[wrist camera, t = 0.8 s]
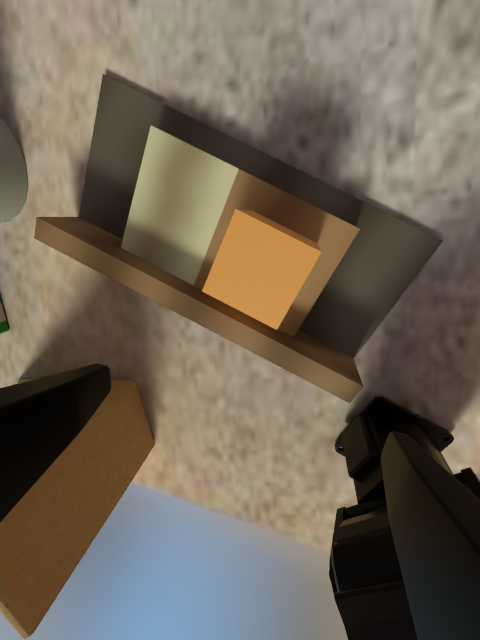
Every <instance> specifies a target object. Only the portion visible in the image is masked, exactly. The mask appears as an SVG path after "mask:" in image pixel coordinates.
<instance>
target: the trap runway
mask: <svg viewBox="0 0 480 640" xmlns="http://www.w3.org/2000/svg"><path fill="white" fill-rule="evenodd" d="M235 209H242V210H251V211H254V212H256V213H258V214H260V215H262V216H264V217H266V218H268V219H270V220H272V221H274V222H276V223H278V224H280V225H282V226H284V227H286V228H288V229H290V230H292V231H294V232H296V233H298V234H300V235H302V236H304V237H306V238H308V239H310V240H312V241H314V242H316V243H318V245H319V247H320V249H321V251H322V252H321V254H320V256H319V258H318V259H317V261H316V263H315V265H314V266H313V268H312V270H311V272H310V273H309V275H308V277H307V279H306V280H305V282H304V284H303V285H302V287H301V289H300V291H299V292H298V294H297V296H296V298H295V299H294V301H293V303H292V305H291V306H290V308H289V310H288V312H287V313H286V315H285V317H284V318H283V320H282V322H281V324H280V325H279V327H278V329H277V330H276V329H274V328H272V327H270V326H268V325H266V324H264V323H262V322H260V321H258V320H256V319H254V318H253V317H251V316H249V315H247V314H245V313H243V312H241V311H239V310H237V309H235V308H233V307H231V306H229V305H227V304H225V303H224V302H222V301H220V300H218V299H216V298H214V297H212V296H210V295H208V294H206V293H204V292H202V290H203V288H204V285H205V283H206V280H207V278H208V275H209V273H210V270H211V268H212V265H213V263H214V260H215V258H216V256H217V253H218V251H219V248H220V246H221V243H222V241H223V238H224V236H225V233H226V231H227V228H228V226H229V223H230V221H231V219H232V216H233V214H234V211H235ZM35 239H37V240H39V241H40V242H42V243H44V244H46V245H48V246H50V247H52V248H54V249H56V250H58V251H60V252H62V253H63V254H65V255H67V256H69V257H71V258H73V259H75V260H77V261H79V262H81V263H83V264H85V265H86V266H88V267H90V268H92V269H94V270H96V271H98V272H100V273H102V274H104V275H106V276H107V277H109V278H111V279H113V280H115V281H117V282H119V283H121V284H123V285H125V286H127V287H129V288H130V289H132V290H134V291H136V292H138V293H140V294H142V295H144V296H146V297H148V298H150V299H152V300H153V301H155V302H157V303H159V304H161V305H163V306H165V307H167V308H169V309H171V310H173V311H174V312H176V313H178V314H180V315H182V316H184V317H186V318H188V319H190V320H192V321H194V322H196V323H197V324H199V325H201V326H203V327H205V328H207V329H209V330H211V331H213V332H215V333H217V334H218V335H220V336H222V337H224V338H226V339H228V340H230V341H232V342H234V343H236V344H238V345H240V346H241V347H243V348H245V349H247V350H249V351H251V352H253V353H255V354H257V355H259V356H261V357H263V358H264V359H266V360H268V361H270V362H272V363H274V364H276V365H278V366H280V367H282V368H284V369H285V370H287V371H289V372H291V373H293V374H295V375H297V376H299V377H301V378H303V379H305V380H307V381H308V382H310V383H312V384H314V385H316V386H318V387H320V388H322V389H324V390H326V391H328V392H330V393H331V394H333V395H335V396H337V397H339V398H341V399H343V400H345V401H347V402H349V403H350V402H351V401H352V400H353V398H354V397H355V396H356V395H357V393H358V392H359V391H360V390H361V389H362V387H363V385H362V382H361V379H360V376H359V373H358V370H357V367H356V364H355V361H354V357H355V356H356V355H357V354H358V352H359V351H360V350H361V348H362V347H363V346H364V344H365V343H366V342H367V340H368V339H369V338H370V336H371V335H372V334H373V332H374V331H375V330H376V329H377V327H378V326H379V325H380V323H381V322H382V321H383V319H384V318H385V317H386V315H387V314H388V313H389V311H390V310H391V309H392V307H393V306H394V305H395V304H396V302H397V301H398V300H399V298H400V297H401V296H402V294H403V293H404V292H405V290H406V289H407V288H408V286H409V285H410V284H411V283H412V281H413V280H414V279H415V277H416V276H417V275H418V273H419V272H420V271H421V269H422V268H423V267H424V265H425V264H426V263H427V261H428V260H429V259H430V258H431V256H432V255H433V254H434V252H435V251H436V250H437V248H438V247H439V246H440V244H441V243H442V242H443V241H442V240H440V239H438V238H436V237H434V236H432V235H430V234H428V233H426V232H424V231H422V230H420V229H418V228H416V227H414V226H412V225H410V224H408V223H406V222H404V221H402V220H400V219H398V218H396V217H394V216H391V215H389V214H387V213H385V212H383V211H381V210H379V209H377V208H375V207H373V206H371V205H369V204H367V203H365V202H363V201H361V200H359V199H357V198H355V197H353V196H351V195H349V194H347V193H345V192H343V191H341V190H338V189H336V188H334V187H332V186H330V185H328V184H326V183H324V182H322V181H320V180H318V179H316V178H314V177H312V176H310V175H308V174H306V173H304V172H302V171H300V170H298V169H296V168H294V167H292V166H290V165H287V164H285V163H283V162H281V161H279V160H277V159H275V158H273V157H271V156H269V155H267V154H265V153H263V152H261V151H259V150H257V149H255V148H253V147H251V146H249V145H247V144H245V143H243V142H241V141H239V140H237V139H234V138H232V137H230V136H228V135H226V134H224V133H222V132H220V131H218V130H216V129H214V128H212V127H210V126H208V125H206V124H204V123H202V122H200V121H198V120H196V119H194V118H192V117H190V116H188V115H186V114H183V113H181V112H179V111H177V110H175V109H173V108H171V107H169V106H167V105H165V104H163V103H161V102H159V101H157V100H155V99H153V98H151V97H149V96H147V95H145V94H143V93H141V92H139V91H137V90H135V89H132V88H130V87H128V86H126V85H124V84H122V83H120V82H118V81H116V80H114V79H112V78H110V77H108V76H106V75H104V74H103V77H102V83H101V89H100V95H99V101H98V107H97V113H96V119H95V125H94V131H93V137H92V143H91V149H90V155H89V160H88V166H87V172H86V178H85V184H84V190H83V196H82V202H81V208H80V214H79V217H37V218H36V228H35Z"/></svg>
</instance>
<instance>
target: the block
mask: <svg viewBox="0 0 480 640" xmlns="http://www.w3.org/2000/svg"><path fill="white" fill-rule="evenodd" d="M321 252H322V251H321V249H320V247H319V245H318V243H316V242H314V241H312V240H310V239H308V238H306V237H304V236H302V235H300V234H298V233H296V232H294V231H292V230H290V229H288V228H286V227H284V226H282V225H280V224H278V223H276V222H274V221H272V220H270V219H268V218H266V217H264V216H262V215H260V214H258V213H256V212H254V211H251V210H242V209H235V211H234V214H233V216H232V219H231V221H230V223H229V226H228V228H227V231H226V233H225V236H224V238H223V241H222V243H221V246H220V248H219V251H218V253H217V256H216V258H215V260H214V263H213V265H212V268H211V270H210V273H209V275H208V278H207V280H206V283H205V285H204V288H203V290H202V292H204V293H206V294H208V295H210V296H212V297H214V298H216V299H218V300H220V301H222V302H224V303H225V304H227V305H229V306H231V307H233V308H235V309H237V310H239V311H241V312H243V313H245V314H247V315H249V316H251V317H253V318H254V319H256V320H258V321H260V322H262V323H264V324H266V325H268V326H270V327H272V328H274V329H276V330H277V329H278V327H279V325H280V324H281V322H282V320H283V318H284V317H285V315H286V313H287V312H288V310H289V308H290V306H291V305H292V303H293V301H294V299H295V298H296V296H297V294H298V292H299V291H300V289H301V287H302V285H303V284H304V282H305V280H306V279H307V277H308V275H309V273H310V272H311V270H312V268H313V266H314V265H315V263H316V261H317V259H318V258H319V256H320V254H321Z"/></svg>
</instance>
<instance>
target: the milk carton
mask: <svg viewBox="0 0 480 640" xmlns="http://www.w3.org/2000/svg"><path fill="white" fill-rule="evenodd" d="M8 330H9V328H8V324H7V321H6V317H5V314H4V310H3V306H2V303H1V299H0V334H1V333H3V332H6V331H8Z"/></svg>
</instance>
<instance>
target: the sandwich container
mask: <svg viewBox="0 0 480 640" xmlns="http://www.w3.org/2000/svg"><path fill="white" fill-rule="evenodd" d="M31 380H35V379H19V381H18V384H19V383H23V382H27V381H31ZM154 445H155V444H154V441H153V437H152V434H151V431H150V427H149V424H148V421H147V417H146V414H145V410H144V407H143V404H142V401H141V397H140V394H139V391H138V387H137V384H136V381H134V380H121V379H111V391H110V393H109V394H108V396H107V397H106V398H105V400H104V401H103V403H102V404H101V405H100V407H99V408H98V409H97V411H96V412H95V413H94V415H93V416H92V417H91V419H90V420H89V422H88V423H87V424H86V426H85V427H84V428H83V429H82V431H81V432H80V433H79V434H78V435H77V437H76V438H75V439H74V440H73V441H72V442H71V443H70V445H69V446H68V447H67V448H66V449H65V450H64V451H63V453H62V454H61V455H60V456H59V457H58V458H57V459H56V460H55V462H54V463H53V464H52V465H51V466H50V467H49V468H48V469H47V471H46V472H45V473H44V474H43V475H42V476H41V477H40V479H39V480H38V481H37V482H36V483H35V484H34V485H33V486H32V488H31V489H30V490H29V491H28V492H27V493H26V494H25V495H24V497H23V498H22V499H21V500H20V501H19V502H18V503H17V505H16V506H15V507H14V508H13V509H12V510H11V511H10V512H9V514H8V515H7V516H6V517H5V518H4V519H3V520H2V521H1V523H0V612H1V613H2V614H3V615H4V616H5V618H6V619H7V620H8V621H9V622H10V623H11V624H12V626H13V627H14V628H15V629H16V630H17V631H18V633H19V634H20V635H21V636H22V637H23V638H24V639H25V638H27V637H29V636H30V635H32V633H34V631H35V630H36V628H37V627H38V625H39V624H40V622H41V620H42V619H43V617H44V616H45V614H46V613H47V611H48V610H49V608H50V607H51V605H52V603H53V602H54V600H55V599H56V597H57V596H58V594H59V592H60V591H61V589H62V588H63V586H64V585H65V583H66V582H67V580H68V579H69V577H70V576H71V574H72V572H73V571H74V569H75V568H76V566H77V565H78V563H79V562H80V560H81V559H82V557H83V555H84V554H85V552H86V551H87V549H88V548H89V546H90V545H91V543H92V541H93V540H94V538H95V537H96V535H97V534H98V532H99V530H100V529H101V528H102V526H103V525H104V523H105V521H106V520H107V518H108V517H109V515H110V514H111V512H112V511H113V509H114V507H115V506H116V504H117V503H118V501H119V500H120V498H121V497H122V495H123V494H124V492H125V490H126V489H127V487H128V486H129V484H130V483H131V481H132V480H133V478H134V476H135V475H136V473H137V472H138V470H139V469H140V467H141V465H142V464H143V462H144V461H145V459H146V458H147V456H148V454H149V453H150V451H151V450H152V448H153V447H154Z"/></svg>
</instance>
